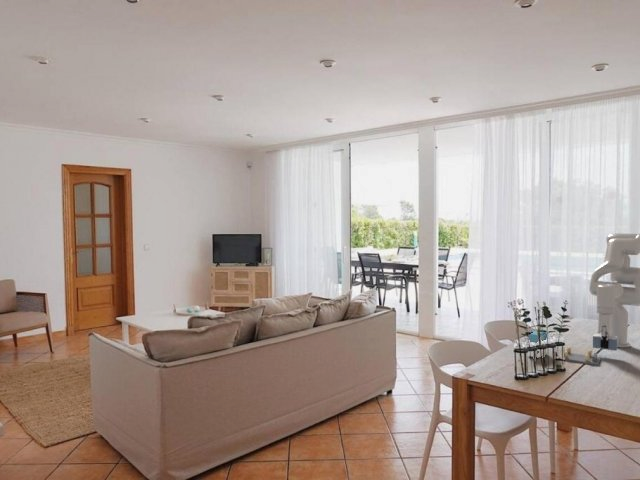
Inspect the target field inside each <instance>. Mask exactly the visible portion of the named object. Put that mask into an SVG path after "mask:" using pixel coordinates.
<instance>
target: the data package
mask: <svg viewBox="0 0 640 480" xmlns="http://www.w3.org/2000/svg"><path fill="white" fill-rule="evenodd" d="M532 332H533V333H531V332H530V333H531V334H530V335H529V334H528V336H529V340H530V342H535V343H537V342H538V335H537V332H536V330H534V331H532ZM546 338H547V339H548V337H547V334H546V333H545V332H541V340H542V341H543V340H546ZM538 353H539V351H537V354H538Z"/></svg>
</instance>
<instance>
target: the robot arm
mask: <svg viewBox="0 0 640 480" xmlns="http://www.w3.org/2000/svg"><path fill="white" fill-rule="evenodd" d="M605 241H606V250H605V255H604V262H603V263H602V264H601V265H600V266H598V267H597V268H595V270H594V271H593V272H592V274H591V277H590V283H589V293H590V295H592V296H595V297H596V313H597V314H598V321H597V324H598V326H597V334H600V335H601V348H608V343H609V340H608V335H609V336H617V348H623V349H624V348H630V347H631V343H630V342H628V328H629V327H628V322H629V314H628V313H629V312H628V310H627V309H626V307H624V306H634V307H640V267H634V266H631V257H630V256H637V255H640V233H624V232H623V233H622V232H620V233H611V234H608V235H607V236H606V240H605ZM608 274H610V281H599V279H600V278H601V277H604V276H605V275H608ZM623 285H627V286H623ZM631 286H633V287H631ZM606 335H607V336H606Z"/></svg>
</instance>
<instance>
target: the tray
mask: <svg viewBox="0 0 640 480" xmlns="http://www.w3.org/2000/svg"><path fill="white" fill-rule="evenodd" d="M566 349H567V350H564V357H565V361H566V362H571V363H576V362H578V364H582V363H583V365H591V366H596V367H598V366H599V365H600V362H601V359H602V357H601V356H598V353H597V352H594V353H592V352H593V351H592V350H590V349H588V350H587V354H582V353H581V354H580V353H574V352H572V347H569V346H568V347H567V348H566Z"/></svg>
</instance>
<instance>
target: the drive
mask: <svg viewBox="0 0 640 480" xmlns="http://www.w3.org/2000/svg"><path fill="white" fill-rule="evenodd" d="M606 336H607V335H606ZM608 340H609V343H608V348H601V333H594V334H593V335H592V348H594V349H602V350H607V351H615V352H617V351H618V347H617V336H609V335H608Z"/></svg>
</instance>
